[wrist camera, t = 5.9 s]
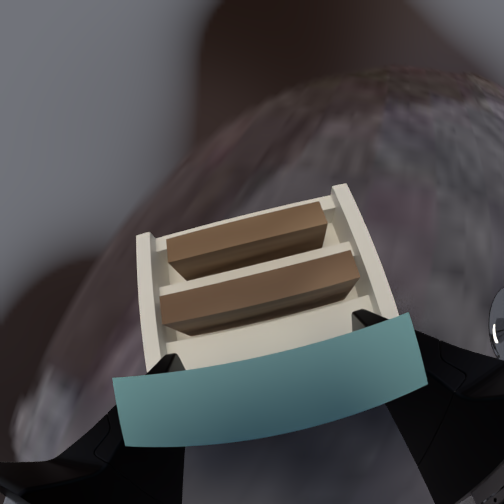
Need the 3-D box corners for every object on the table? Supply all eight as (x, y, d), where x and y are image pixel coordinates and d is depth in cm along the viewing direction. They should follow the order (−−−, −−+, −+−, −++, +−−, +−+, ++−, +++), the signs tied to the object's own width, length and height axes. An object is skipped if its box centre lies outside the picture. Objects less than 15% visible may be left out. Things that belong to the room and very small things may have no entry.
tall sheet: (338, 378, 13) (428, 384, 4) (226, 403, 13) (125, 445, 4) (332, 351, 14) (408, 312, 5) (221, 377, 14) (111, 377, 5)
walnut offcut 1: (320, 252, 19) (328, 223, 15) (190, 284, 19) (167, 262, 15) (314, 233, 19) (319, 201, 16) (188, 264, 19) (166, 239, 16)
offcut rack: (391, 378, 15) (416, 378, 12) (184, 426, 16) (159, 437, 12) (338, 215, 21) (346, 183, 17) (160, 259, 21) (136, 235, 17)
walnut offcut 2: (343, 299, 17) (360, 276, 13) (191, 336, 17) (162, 324, 13) (336, 278, 18) (350, 249, 14) (187, 314, 18) (159, 296, 14)
